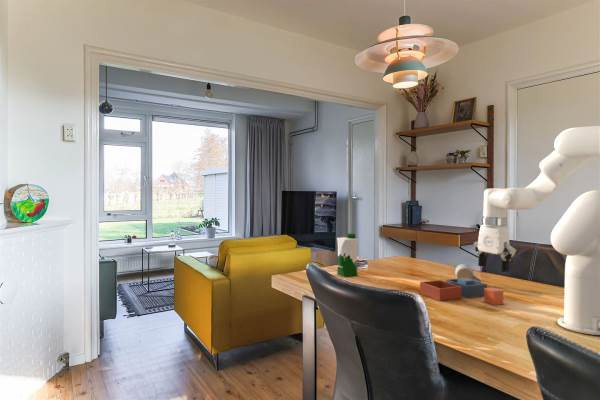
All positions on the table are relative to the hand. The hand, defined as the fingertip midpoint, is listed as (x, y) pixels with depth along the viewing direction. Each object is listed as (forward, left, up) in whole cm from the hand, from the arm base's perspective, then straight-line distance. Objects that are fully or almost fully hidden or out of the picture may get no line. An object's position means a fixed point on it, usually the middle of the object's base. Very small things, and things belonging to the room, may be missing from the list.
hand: (492, 268), depth 133 cm
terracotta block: (0, 0, -13) cm, 13 cm away
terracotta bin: (+14, +12, -13) cm, 22 cm away
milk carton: (+59, +29, -13) cm, 67 cm away
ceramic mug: (+28, -16, -13) cm, 34 cm away
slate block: (+14, -1, -12) cm, 18 cm away
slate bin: (+14, -1, -13) cm, 18 cm away
